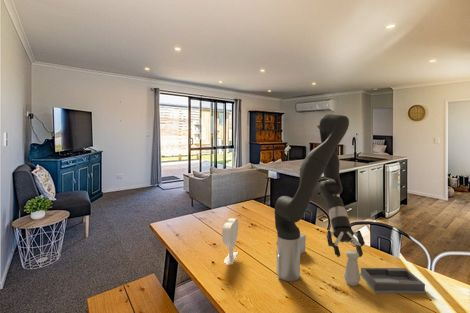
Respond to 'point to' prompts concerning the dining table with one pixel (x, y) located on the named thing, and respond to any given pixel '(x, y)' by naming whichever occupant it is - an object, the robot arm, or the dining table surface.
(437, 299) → the dining table surface
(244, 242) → the dining table surface
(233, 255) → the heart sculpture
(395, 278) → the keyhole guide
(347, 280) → the salt shaker
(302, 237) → the medicine box
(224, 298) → the dining table surface
